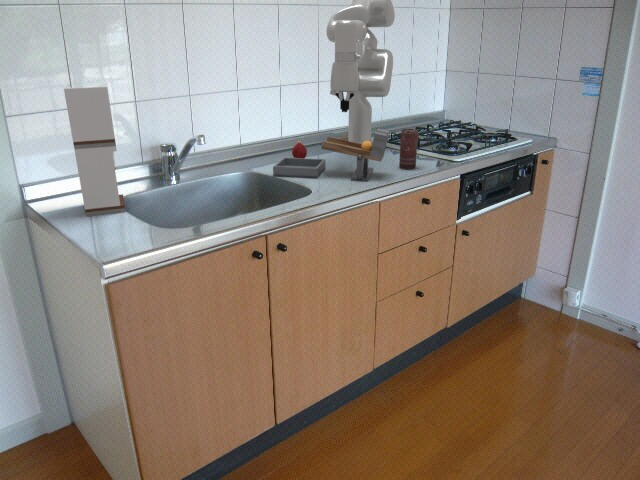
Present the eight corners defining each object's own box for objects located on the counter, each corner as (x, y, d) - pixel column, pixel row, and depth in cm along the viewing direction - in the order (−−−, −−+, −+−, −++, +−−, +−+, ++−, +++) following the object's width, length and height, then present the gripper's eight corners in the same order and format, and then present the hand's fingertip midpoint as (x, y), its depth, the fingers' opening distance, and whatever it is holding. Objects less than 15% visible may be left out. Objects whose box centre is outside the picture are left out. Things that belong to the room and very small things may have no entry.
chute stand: (357, 169, 202) (357, 146, 198) (373, 170, 201) (374, 146, 197) (350, 180, 188) (351, 155, 185) (368, 181, 187) (368, 156, 184)
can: (416, 170, 201) (418, 131, 195) (398, 169, 202) (400, 131, 197) (416, 166, 206) (419, 128, 201) (399, 165, 207) (401, 128, 202)
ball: (361, 149, 193) (363, 138, 192) (372, 152, 193) (374, 141, 191) (359, 152, 189) (361, 141, 188) (370, 154, 189) (373, 143, 187)
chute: (330, 139, 205) (335, 115, 201) (386, 151, 202) (391, 126, 198) (321, 148, 189) (325, 123, 186) (380, 161, 187) (386, 135, 183)
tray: (284, 166, 207) (283, 157, 206) (325, 168, 204) (325, 159, 202) (273, 176, 194) (272, 166, 193) (317, 178, 191) (317, 168, 190)
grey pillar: (125, 211, 159) (107, 87, 146) (86, 216, 155) (63, 88, 142) (124, 200, 169) (106, 82, 156) (86, 204, 165) (66, 84, 152)
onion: (309, 160, 216) (309, 140, 213) (303, 163, 211) (302, 143, 208) (296, 159, 218) (295, 139, 215) (289, 162, 213) (289, 141, 210)
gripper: (368, 58, 193) (366, 111, 200) (326, 57, 196) (326, 109, 203) (365, 58, 187) (363, 113, 193) (322, 58, 190) (322, 112, 196)
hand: (344, 111), depth 198 cm, fingers closed
